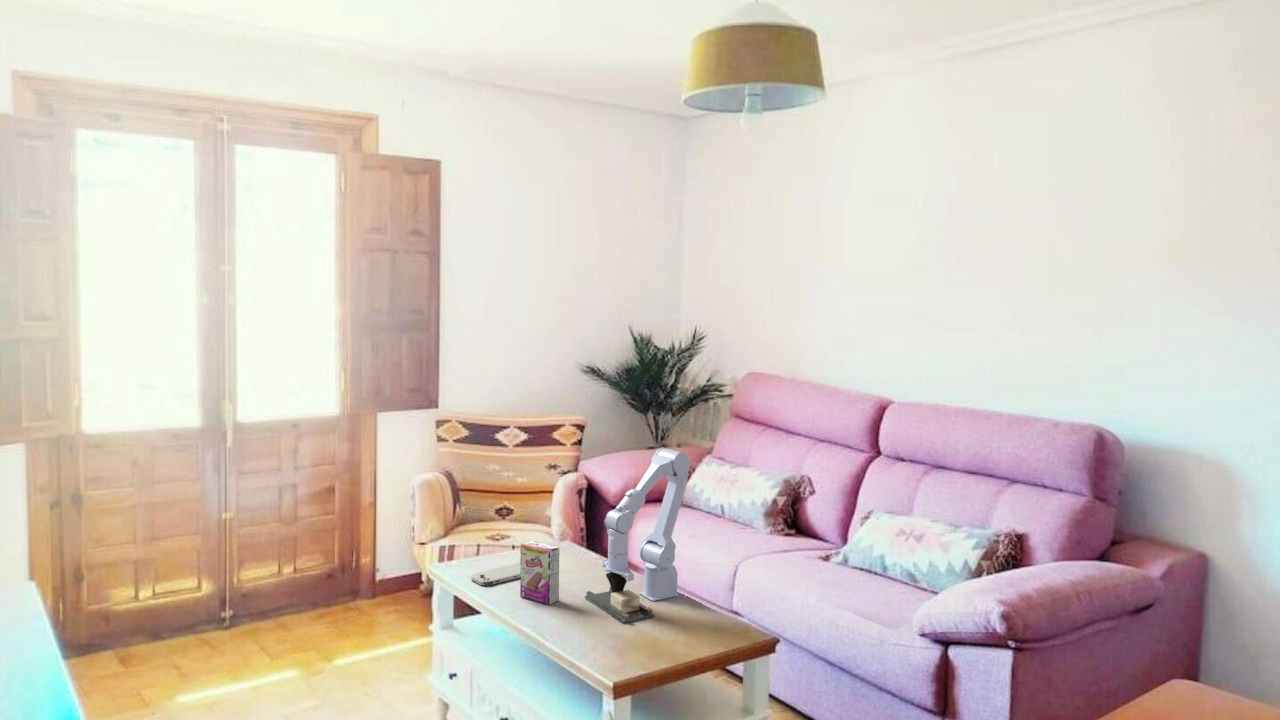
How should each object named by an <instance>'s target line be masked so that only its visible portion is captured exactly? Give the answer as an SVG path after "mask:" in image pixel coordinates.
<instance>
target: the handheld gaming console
mask: <svg viewBox="0 0 1280 720" xmlns="http://www.w3.org/2000/svg"><path fill="white" fill-rule="evenodd" d="M520 575H521V561H520V562H515V563H511V564H508V565H504V566H500V567H494V568H492V569H491V568H490V569H487V570H482V571H478V572H474V573H473V574H471V577H470V579H471V581H472V582H474V583H475V584H477V585H478V586H481V585H482V586H481V587H484V588H487V587H486V586H489V587H493V586H494V585H493V584H495V585H498V584H497V583H499V584H503V583H507V582H510V580H511V581H515V580H518V578H519V579H521V576H520ZM514 579H515V580H514ZM506 581H507V582H506ZM502 582H503V583H502Z"/></svg>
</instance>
